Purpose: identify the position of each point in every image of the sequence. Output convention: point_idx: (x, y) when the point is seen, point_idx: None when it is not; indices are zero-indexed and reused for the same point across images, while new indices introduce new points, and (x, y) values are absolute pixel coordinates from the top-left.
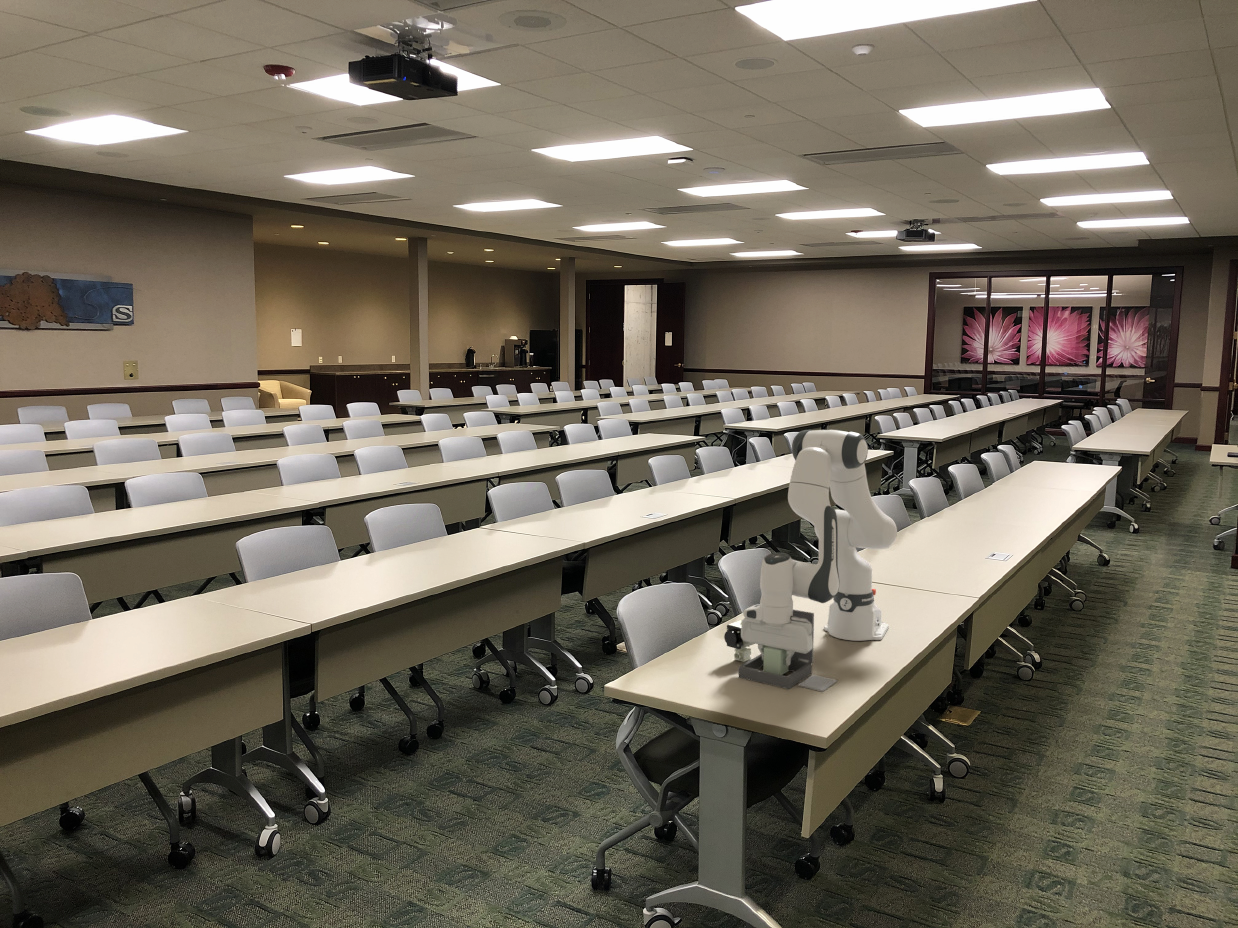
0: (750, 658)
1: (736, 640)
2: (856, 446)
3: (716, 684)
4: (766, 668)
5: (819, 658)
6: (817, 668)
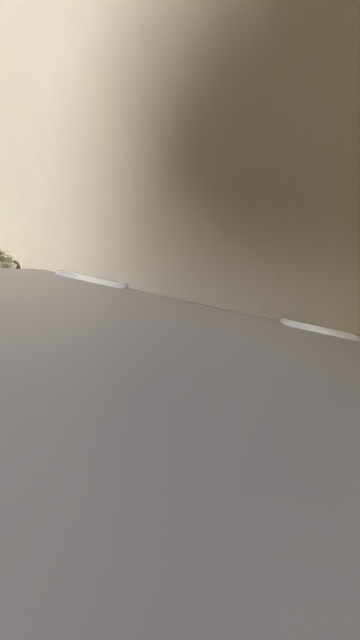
0: (14, 267)
1: None
2: None
3: None
4: None
5: (353, 45)
6: (347, 249)
